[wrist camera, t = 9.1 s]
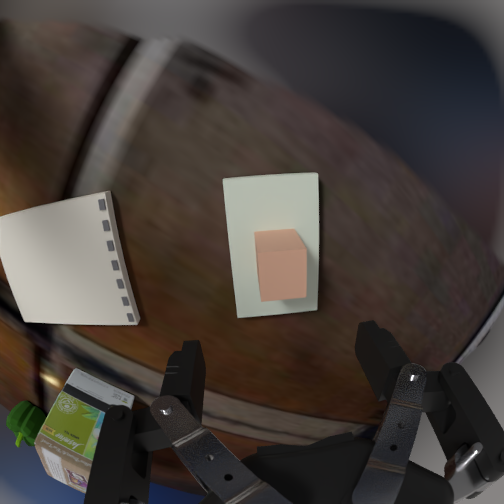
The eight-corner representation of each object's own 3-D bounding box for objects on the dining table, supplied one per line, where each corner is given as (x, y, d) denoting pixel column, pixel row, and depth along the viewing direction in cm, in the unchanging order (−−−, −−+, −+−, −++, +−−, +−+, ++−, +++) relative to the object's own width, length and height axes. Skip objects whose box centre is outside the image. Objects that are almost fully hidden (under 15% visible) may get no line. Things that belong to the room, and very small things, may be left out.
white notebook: (29, 317, 29) (24, 322, 28) (-4, 217, 24) (-10, 220, 22) (140, 318, 29) (136, 325, 28) (110, 190, 24) (104, 193, 23)
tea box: (73, 364, 32) (31, 443, 18) (136, 394, 34) (110, 482, 20) (72, 413, 37) (45, 476, 23) (123, 436, 38) (105, 503, 25)
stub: (237, 312, 29) (237, 350, 23) (223, 178, 24) (218, 189, 18) (314, 304, 29) (330, 340, 23) (314, 172, 24) (336, 181, 19)
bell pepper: (27, 391, 35) (5, 428, 26) (57, 420, 38) (40, 457, 28) (14, 398, 36) (-5, 430, 27) (42, 423, 39) (26, 456, 30)
